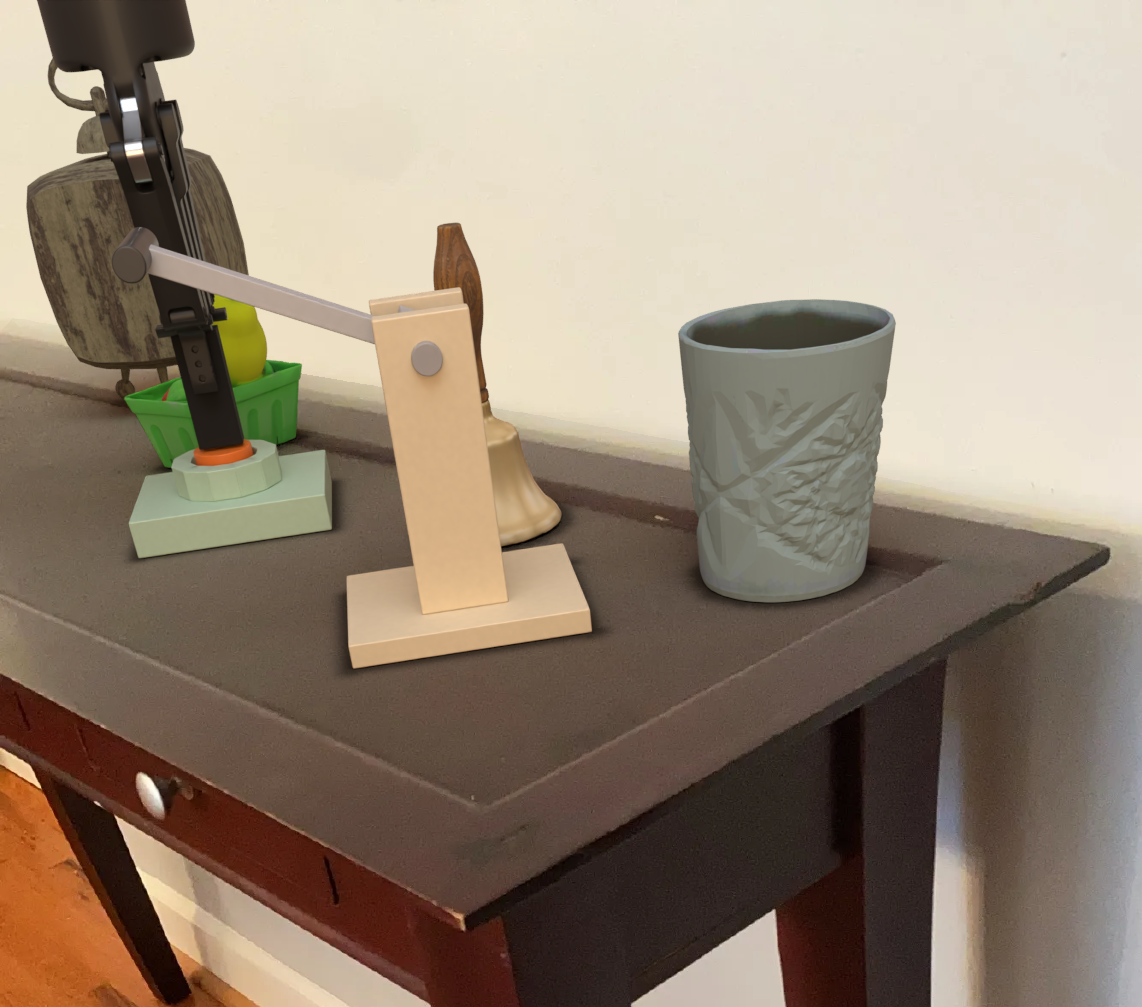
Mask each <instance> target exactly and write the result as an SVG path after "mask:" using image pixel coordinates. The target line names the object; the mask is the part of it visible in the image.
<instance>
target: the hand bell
mask: <svg viewBox="0 0 1142 1007" xmlns="http://www.w3.org/2000/svg"><path fill="white" fill-rule="evenodd" d="M432 273H433V276H432V278H433V280H432V281H433V291H437V290H444V289H451V288H458V287H460V288H461V290H462V294H463V302H464V304H467V305H468V308H469V313H470V320H471V328H472V335H473V342H474V350H475V357H476V365H477V372H478V379H479V387H480V394H481V402H482V409H483V417H484V424H485V431H486V439H487V446H488V454H489V461H490V468H491V476H492V483H493V491H494V498H495V506H496V513H497V520H498V528H499V535H500V543H501V547H506V546H511V545H514V544H515V545H516V544H519V543H524V542H526V541H528V540H531V539H534V538H536V537H539V536H540V535H542V534H545V533H548V532H549V531H551V530H552V529H553V528H554V527H556V526H557V525H558V524H559V523H560V521H561V519H562V511H561V509H560V508H559V506H558V503H556V502H555V501H554V500H553V499H552V498H551V497H550V496H548V495H546V493H544V491H543V490H542V489H541V488H540V486H539V485H538V483H537V482H536V480H535V479H534V477H533V475H532V472H531V470H530V467H529V466H528V463H527V460H526V457H525V454H524V450H523V447H522V443H521V439H520V434H519V431H518V429H517V427H516V426H515V425H514V424H512V423H510V422H508V421H504V420H502V419H500V418H497V417H495V416H494V415H493V411H492V408H491V403H490V400H489V399H490V394H489V390H488V388H487V378H486V373H485V368H484V362H483V356H482V334H483V327H484V315H485V314H484V295H483V287H482V281H481V275H480V272H479V267H478V265H477V262H476V259H475V257H474V255H473V253H472V250H471V248H470V246H469V243H468V240H466V236H465V233H464V231H463V227H462V224H461V223H460V222H448V223H447V222H446V223H442V224H439V225H438V226H437V227H436V247H435V253H434V260H433V272H432Z"/></svg>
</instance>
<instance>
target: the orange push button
mask: <svg viewBox="0 0 1142 1007" xmlns="http://www.w3.org/2000/svg"><path fill="white" fill-rule="evenodd" d="M253 455H254V454H253V450H252V446H251V443H250V441H248V440H245V439H244V441H243V444H237V445H230V446H223V447H216V448H210V449H203V450H200V449H199V447H198V448H196V449H195V450H194V457H195V461H196V465H197V466H217V465H223V464H230V463H234V462H237V461H241V460H244V459H247V458H249V457H251V456H253Z"/></svg>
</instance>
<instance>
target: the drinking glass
mask: <svg viewBox="0 0 1142 1007" xmlns="http://www.w3.org/2000/svg"><path fill="white" fill-rule="evenodd" d="M896 325H897V322H896V319H895V317H894V314H893V313H891V312H890V311H889V310H887V309H886V308H882V307H880V306H877V305H873V304H868V303H863V302H856V301H851V300H850V301H849V300H841V299H840V300H839V299H819V298H818V299H817V298H816V299H815V298H813V299H811V298H810V299H785V300H774V301H766V302H759V303H750V304H745V305H738V306H733V307H728V308H722V309H718V310H715V311H711V312H708V313H705V314H702V315H699V316H697V317H695V318H692V319H691V320H688V321H687V322H685V323H684V324H683V325H682V326H681V327H680V328H679V330H678V332H677V335H678V344H679V345H678V346H679V354H680V364H681V376H682V385H683V392H684V398H685V413H686V421H687V436H688V441H689V444H688V447H689V450H688V459H689V470H690V475H691V477H692V478H691V492H692V498H693V500H694V513H695V516H696V517H697V518H698V523H697V526H696V540H697V542H696V543H697V552H698V562H699V564H698V565H699V572H700V575H701V579H702V580H703V583H704V584H705V586H706V587H707V588H708V589H709V590H711V591H712V592H714V593H716V594H718V595H721V596H723V597H727V598H731V599H735V600H739V601H746V602H754V603H755V602H756V603H786V602H797V601H803V600H809V599H815V598H820V597H824V596H827V595H830V594H833V593H836V592H839V591H841V590H844V589H845V588H847V587H849V586H852V585H853V584H854V583H855V582H857V581H858V580H859V579H860V578H861V577H862V575H863V574H864V571H865V568H866V565H867V564H866V563H867V556H868V548H869V541H870V540H869V539H870V529H871V528H870V527H871V525H870V524H871V521H870V519H871V515H872V512H873V507H874V494H875V492H876V486H875V484H876V479H877V472H878V468H879V462H878V456H879V454H880V450H881V445H882V444H881V443H882V438H881V433H882V431H883V428H884V418H883V416H882V415H883V405H884V404H883V403H884V401H885V399H886V395H887V391H888V379H889V375H890V370H891V363H892V362H891V361H892V355H893V348H894V339H895V331H896Z"/></svg>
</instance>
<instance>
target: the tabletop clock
mask: <svg viewBox="0 0 1142 1007" xmlns="http://www.w3.org/2000/svg"><path fill="white" fill-rule="evenodd" d="M47 67H48V69H47V81H48V86H49V88H50V91H51V92H52V93H53V94H54V97H56V99H58V100H59V101H60V102H61V103H62V104H64V105H65V106H67V107H69V108H72V109H76V110H78V111H84V112H94V114H95V116H93V117H90V118H88V119H86V120H85V121H84V122H83V123H82V124H81V126H80V128H79V130H78V132H77V137H76V154H80V155H89V154H99V153H103V154H99V155H95V156H91V157H87V158H84V159H81V160H78V161H76V162H73V163H70V164H68V165H65V166H62V167H59V168H56V169H54V170H51V171H48V172H47V173H44V174H42V175H40V176H39V177H37V178H36V179H34V180H33V181H32V182H30V184H28V185H26V202H25V203H26V205H25V206H26V208H25V209H26V217H27V225H28V231H29V235H30V236H29V237H30V240H31V244H32V249H33V252H34V256H35V262H36V265H37V269H38V273H39V278H40V281H41V283H42V285H43V288H44V291H45V295H46V297H47V299H48V302H49V306H50V307H51V310H52V313H53V316H54V318H55V321H56V324H57V326H58V328H59V330H60V332H61V334H62V336H63V338H64V340H65V342H66V344H67V346H68V347H69V348H70V350H71V351H72V353H73V354H74V355H75V357H76V358H77V360H78V361H79V363H82V364H86V365H88V366H91V367H94V368H99V369H105V370H120V374H121V379H119V380H117V382H116V383H115V386H114V387H115V388H114V389H115V393H116V394H117V396H118V397H119V398H120V399H122V400H124V398H125V397H126V396H127V395H130V394H133V393H136V386H135V385H134V384H133V383H132V381H131V380H130V373H131V370H156V372H157V375H158V379H159V382H160V383H159V384H162V383H165V382H168V381H169V376H168V375H169V374H168V367H174V366H178V364H177V360H176V357H175V353H174V349H173V345H172V341H171V337H165V338H158V337H157V334H156V331H155V329H156V326H157V325H161V322H160V319H159V315H160V313H159V310H158V306H157V303H156V300H155V296H154V293H153V289H152V286H151V283H150V279H149V276H148V273H146V275H145V277H144V278H143V279H142V280H141V281H140V282H138V283H134V284H129V283H126V282H124V281H122V280H120V279H119V278H118V277H117V276H116V274H115V273H114V271H113V268H112V264H111V259H112V255H113V253H114V251H115V250H116V249H117V247H118V246H119V245H120V244H121V242H122V241H123V240H124V238H125V237H126V236H127V234H128V233H129V232H130V231H131V230H132V229H134V225H133V222H132V218H131V215H130V211H129V208H128V205H127V201H126V198H125V196H124V192H123V189H122V186H121V183H120V180H119V177H118V175H117V172H116V169H115V166H114V163H113V162H111V159H110V156H109V151H110V149H109V148H108V147H107V144H106V142H105V138H104V134H103V130H102V126H101V122H100V117H99V113H101V112H105V109H108V104H107V99H106V94H105V90H104V88H102V86H101V87H100V86H98V85H97V86H96V85H94V86H92V87H91V88H90V91H89V95H90V99H87V100H86V99H85V100H82V99H79V98H74V97H69V96H68V95H67V94H64V93H63V92H61V91H60V90H59V88H58V87H57V85H56V81H55V78H56V77H55V76H56V73H57V70H58V69H59V68H58V67H57V66H56V65H55V63H54V61H53V57H52V58H51V60H50V61H49V64H48V66H47ZM184 151H185V155H186V160H187V164H188V168H189V172H190V177H191V186H190V191H191V195H192V200H193V205H194V209H195V214H196V219H197V223H198V228H199V233H200V237H201V242H202V247H203V251H204V256H205V261H206V262H207V263H211V264H214V265H217V266H220V267H223V268H226V269H229V270H232V271H236V272H239V273H242V274H245V275H248V276H250V273H249V268H248V262H247V261H248V260H247V255H246V249H245V243H244V238H243V235H242V231H241V229H240V225H239V224H240V223H239V222H238V218H237V214H236V212H235V207H234V204H233V201H232V198H231V194H230V192H229V189H228V187H227V184H226V182H225V180H224V177H223V175H222V173H221V170H220V169H219V168H218V166H217V165H216V163H215V161H214V159H213V158H212V155H210V154H207V153H204V152H203V151H199V150H197V149H193V148H188V147H184Z"/></svg>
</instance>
